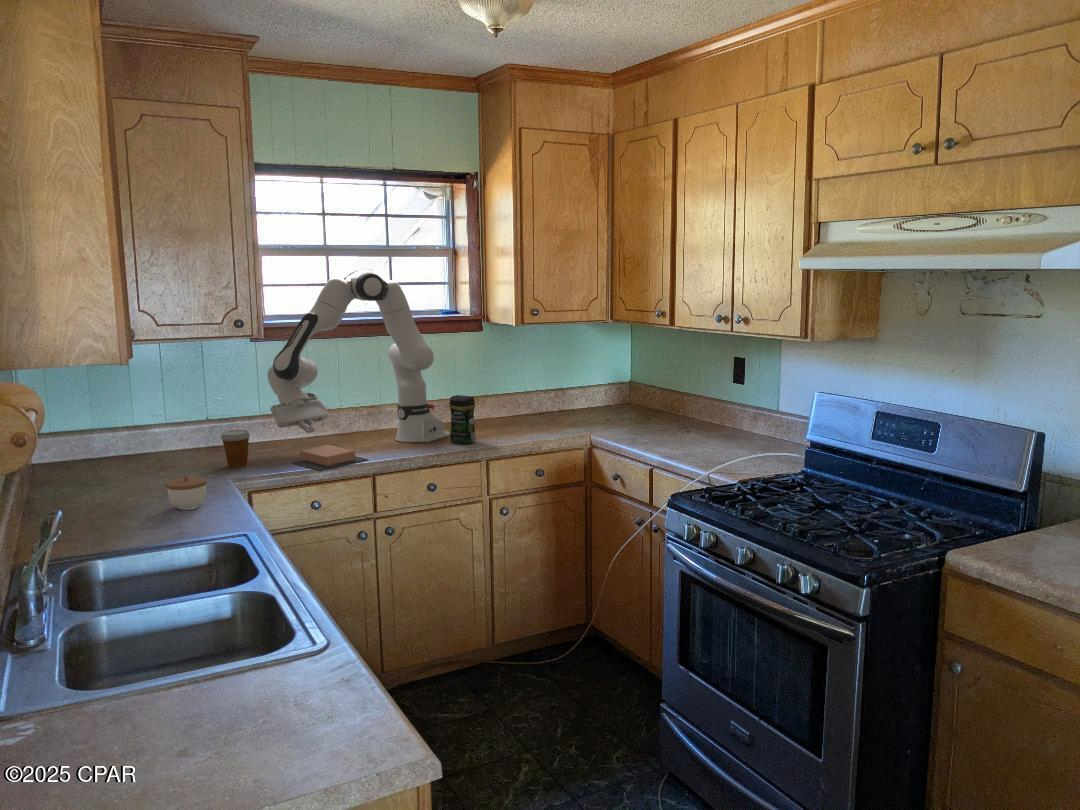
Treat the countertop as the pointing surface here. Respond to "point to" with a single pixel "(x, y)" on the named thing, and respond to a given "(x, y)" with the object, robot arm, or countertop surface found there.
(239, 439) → the disposable coffee cup
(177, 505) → the lidded jar
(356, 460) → the mat
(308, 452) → the tile
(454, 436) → the coffee jar
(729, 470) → the countertop surface
